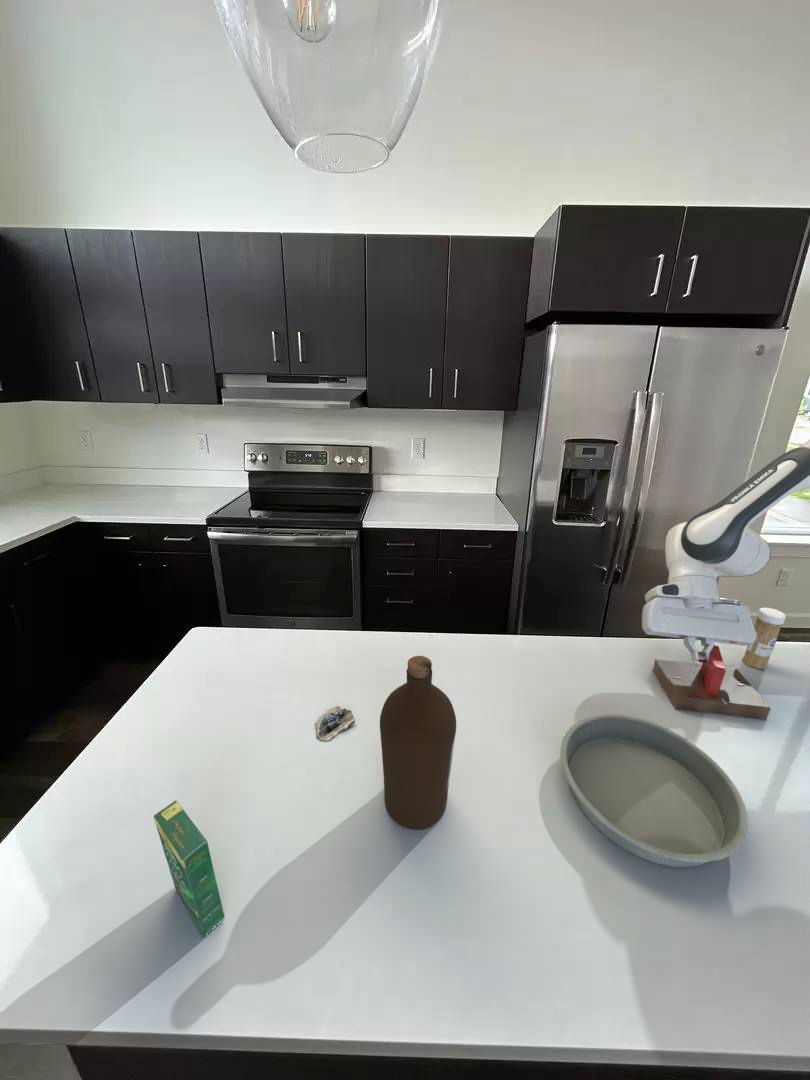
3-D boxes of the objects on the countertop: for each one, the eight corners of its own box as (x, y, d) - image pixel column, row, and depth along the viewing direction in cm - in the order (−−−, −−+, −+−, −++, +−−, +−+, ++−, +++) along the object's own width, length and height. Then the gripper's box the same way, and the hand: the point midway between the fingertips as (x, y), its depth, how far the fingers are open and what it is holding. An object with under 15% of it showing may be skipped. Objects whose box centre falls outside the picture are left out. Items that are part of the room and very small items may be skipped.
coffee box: (172, 888, 53) (150, 813, 48) (195, 869, 55) (177, 796, 50) (202, 941, 48) (181, 863, 43) (226, 918, 50) (209, 842, 45)
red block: (700, 667, 90) (708, 642, 88) (711, 670, 90) (719, 645, 87) (706, 693, 83) (715, 666, 81) (717, 696, 82) (726, 669, 80)
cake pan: (525, 785, 67) (529, 763, 65) (601, 712, 82) (605, 693, 80) (704, 931, 49) (715, 906, 48) (759, 805, 64) (769, 783, 63)
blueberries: (361, 716, 80) (360, 708, 80) (337, 747, 73) (337, 739, 73) (331, 705, 83) (330, 698, 82) (305, 734, 76) (304, 726, 75)
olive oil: (388, 843, 58) (388, 696, 50) (374, 777, 68) (372, 644, 59) (461, 824, 61) (473, 682, 52) (437, 764, 71) (444, 635, 62)
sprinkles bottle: (761, 672, 94) (781, 619, 89) (738, 661, 98) (755, 609, 93) (770, 665, 96) (790, 613, 91) (747, 655, 100) (764, 604, 95)
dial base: (730, 677, 92) (734, 665, 91) (768, 722, 80) (773, 709, 79) (651, 668, 95) (654, 657, 94) (676, 711, 82) (680, 698, 81)
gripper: (738, 604, 92) (748, 670, 86) (636, 594, 95) (640, 657, 90) (757, 596, 86) (769, 666, 81) (648, 585, 89) (653, 652, 84)
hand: (700, 661), depth 85 cm, fingers closed
